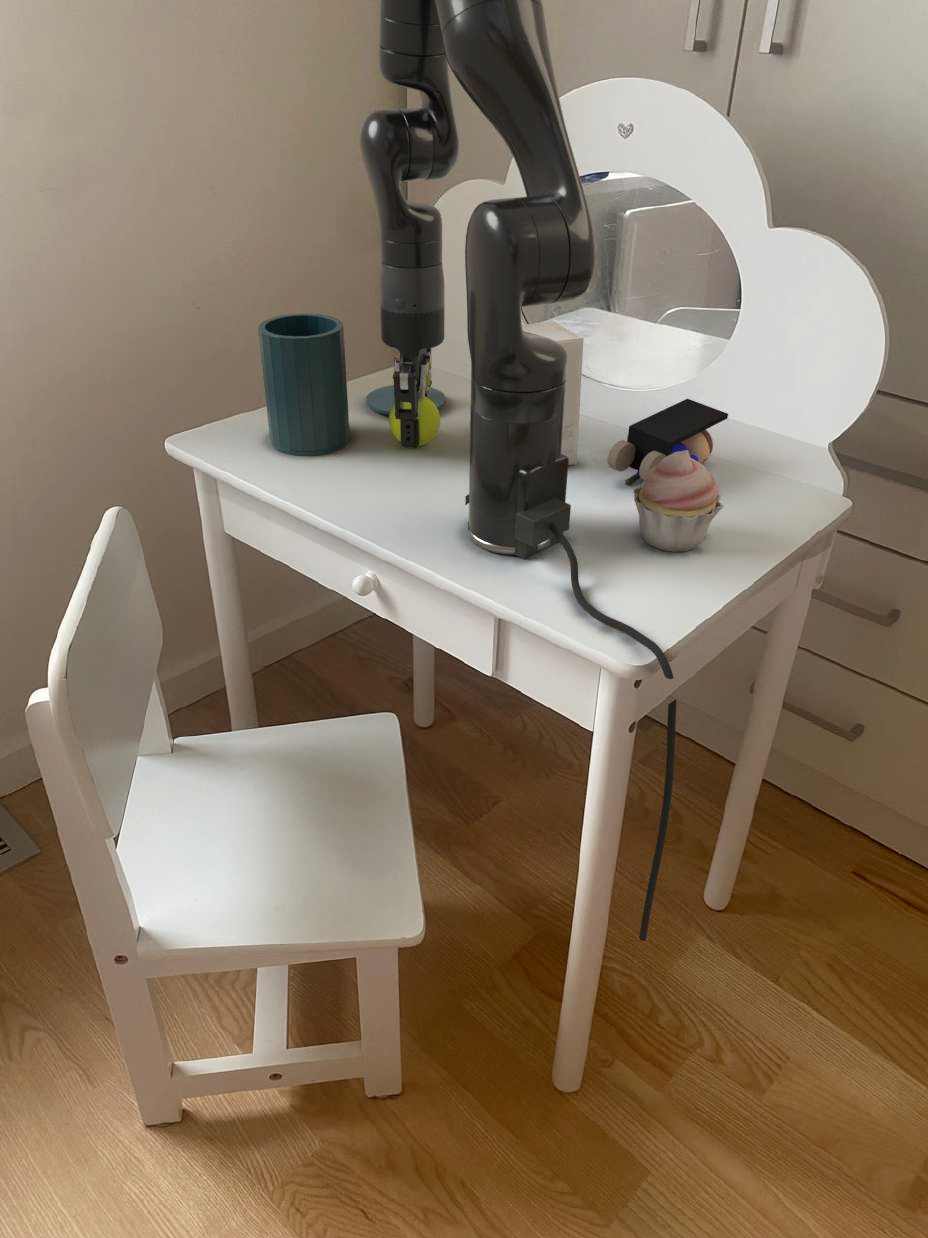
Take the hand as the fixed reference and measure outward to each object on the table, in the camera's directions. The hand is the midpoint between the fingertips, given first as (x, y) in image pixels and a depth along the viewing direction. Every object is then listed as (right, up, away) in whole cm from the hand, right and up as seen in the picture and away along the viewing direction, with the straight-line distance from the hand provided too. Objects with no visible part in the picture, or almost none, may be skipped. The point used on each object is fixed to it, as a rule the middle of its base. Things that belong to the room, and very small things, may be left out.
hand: (414, 435), depth 121 cm
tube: (-13, 0, +2) cm, 13 cm away
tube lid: (-2, +7, +12) cm, 14 cm away
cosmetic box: (+15, -3, -2) cm, 16 cm away
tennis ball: (0, +2, -1) cm, 2 cm away
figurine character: (+30, -6, -6) cm, 31 cm away
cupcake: (+28, -15, -19) cm, 37 cm away
